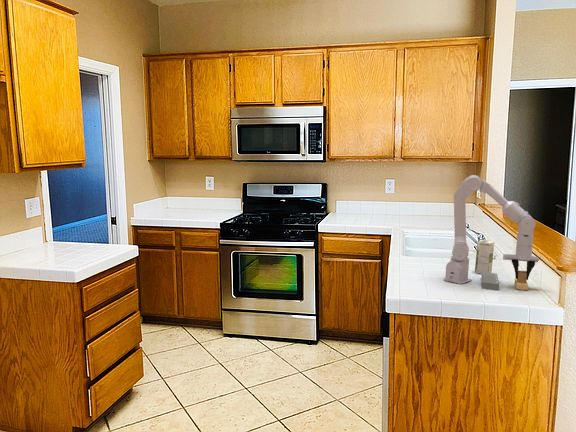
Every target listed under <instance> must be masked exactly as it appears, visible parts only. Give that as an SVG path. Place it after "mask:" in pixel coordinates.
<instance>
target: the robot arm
mask: <svg viewBox="0 0 576 432" xmlns="http://www.w3.org/2000/svg"><path fill="white" fill-rule="evenodd" d="M477 191H479V192H480V193H483V194H486V195H488V196H489V197H490V198H492V199H493V201H495V202H496V203H497V204H499V205H500V206H501V210H502V213H503V214H505V215H506V216H507V217H508V218H509V219H510V220H511V221H512V222H513V223H517V226H518V230H517V234H516V244H515V247H516V248H515V254H506V253H505V254H504V253H503V256H502V260H505V261H510V262H511V265H512V267H513V268H514V273H515V278H516V279H518V270H519V267H520V263H519V262H526V270H525V271H526V272H527V278H526V281H528V280H529V277H530V275H531V272H532V271H533V268H534V267H535V266H536V263H538V261H539V258H538V257H539V256H534V255H532V254H533V245H534V244H533V243H534V229H536V225H537V224H536V220H535V219H534V218H533V217H532V216H531V214H529V211H527V210H525V209H523V208H522V207H521V206H520V203H518V202H517V201H514V200H507V199H506V198H505V197H504V196H503V195H502V194H501V193H500V191H498V190H497V189H496V188H495V187H494V186H493V185H492V184H490V183H488V181H486V180H484V179H482V178H481V177H480V176H478V175H476V174H472V175H469V176H467V177H465V179H464V180H462V182H461V184H460V185H459V186H458V188H457V189H456V190H455V192H454V193H453V219H454V223H453V225H454V227H453V229H454V241H453V243H454V244H453V247H452V251H451V254H452V256H450V259H449V260H450V261H449V262H447V263H446V266H445V275H444V276H445V278H443V279H442V280H443V281H445V282H450V283H454V284H458V285H463V284H465V283H468V282H471V281H473V279H472V278H469V270H470V269H469V268H470V266H469V265H470V258H469V257H468V256H469V251H470V248H469V246H468V244H467V220H466V219H467V218H466V217H467V213H466V212H467V211H466V208H467V205H466V199H467V198H468V197H469V196H470V195H472V194H473V193H475V192H477ZM515 278H514V279H515Z"/></svg>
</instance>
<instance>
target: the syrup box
mask: <svg viewBox="0 0 576 432" xmlns="http://www.w3.org/2000/svg"><path fill="white" fill-rule="evenodd" d="M494 249H495V242H494V241H491V240H485V239H481V240H479V241H477V242H476V254H475V267H474V273H475V274H478V275H482V272H485V273H493V272H492V271H493V261H494Z"/></svg>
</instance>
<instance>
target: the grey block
mask: <svg viewBox="0 0 576 432" xmlns="http://www.w3.org/2000/svg"><path fill="white" fill-rule="evenodd" d="M481 289H484V290H490V291H491V290H492V291H499V289H500V281H499V276H498V273H495V272H491V273H485V272H482V274H481Z"/></svg>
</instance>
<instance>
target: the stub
mask: <svg viewBox="0 0 576 432" xmlns="http://www.w3.org/2000/svg"><path fill="white" fill-rule="evenodd" d="M526 278H527V272H526V270H520V269H518V279H516V278H514V286H515V289H516V290H522V291H528V290H529V284H528V282H527V281H528V280H526Z"/></svg>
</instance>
